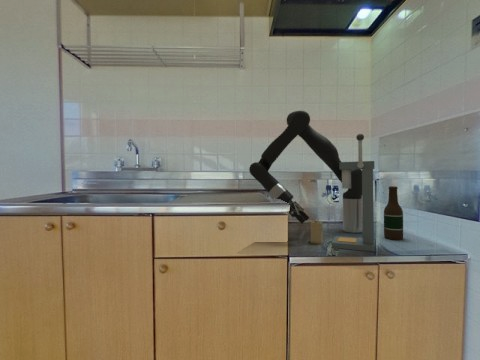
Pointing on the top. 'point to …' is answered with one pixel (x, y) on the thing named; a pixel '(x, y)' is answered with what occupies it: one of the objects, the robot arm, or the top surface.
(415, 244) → the top surface
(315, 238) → the block
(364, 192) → the press
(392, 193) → the beer bottle
